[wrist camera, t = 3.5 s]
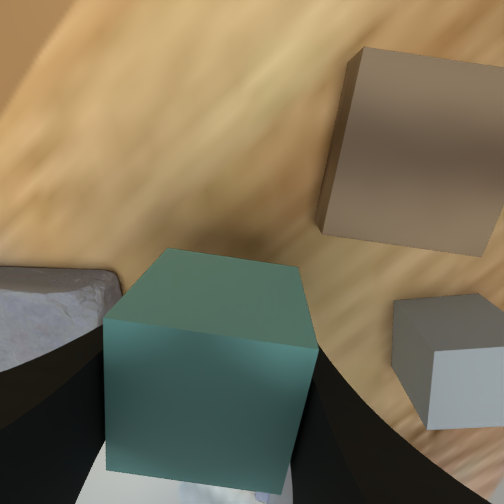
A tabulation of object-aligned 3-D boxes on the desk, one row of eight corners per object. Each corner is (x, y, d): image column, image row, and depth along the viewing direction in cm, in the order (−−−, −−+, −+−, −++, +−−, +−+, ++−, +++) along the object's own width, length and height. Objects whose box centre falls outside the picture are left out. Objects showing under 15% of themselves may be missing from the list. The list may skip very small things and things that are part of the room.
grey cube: (468, 360, 21) (527, 425, 16) (390, 364, 21) (426, 429, 16) (477, 292, 19) (547, 343, 14) (393, 299, 19) (434, 351, 15)
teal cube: (275, 372, 14) (280, 495, 9) (161, 355, 14) (106, 470, 9) (297, 267, 12) (319, 349, 7) (167, 247, 12) (102, 317, 7)
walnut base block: (448, 239, 18) (481, 257, 15) (313, 219, 18) (321, 234, 15) (505, 87, 15) (558, 75, 13) (346, 63, 15) (364, 46, 13)
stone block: (150, 364, 24) (121, 256, 19) (124, 426, 20) (78, 309, 15) (6, 356, 25) (-59, 249, 20) (-47, 413, 21) (-147, 298, 16)
